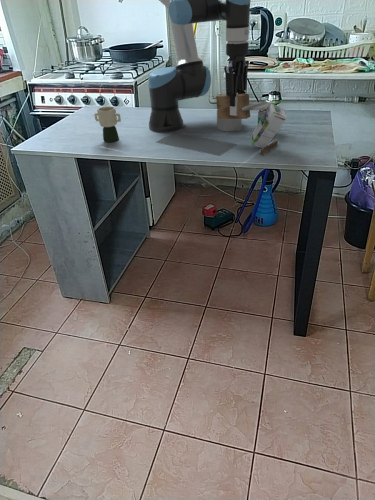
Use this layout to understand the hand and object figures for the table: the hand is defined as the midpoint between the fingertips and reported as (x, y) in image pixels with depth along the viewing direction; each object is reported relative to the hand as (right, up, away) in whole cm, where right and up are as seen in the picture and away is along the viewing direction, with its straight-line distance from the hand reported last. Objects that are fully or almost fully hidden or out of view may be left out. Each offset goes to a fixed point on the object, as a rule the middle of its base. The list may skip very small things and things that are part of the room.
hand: (236, 113), depth 141 cm
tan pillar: (+3, -2, -1) cm, 3 cm away
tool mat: (-15, -9, +8) cm, 19 cm away
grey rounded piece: (0, +2, +23) cm, 23 cm away
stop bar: (+12, -13, 0) cm, 18 cm away
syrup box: (+8, -11, +1) cm, 13 cm away
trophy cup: (-49, -6, +16) cm, 52 cm away
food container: (+14, -3, +15) cm, 20 cm away
